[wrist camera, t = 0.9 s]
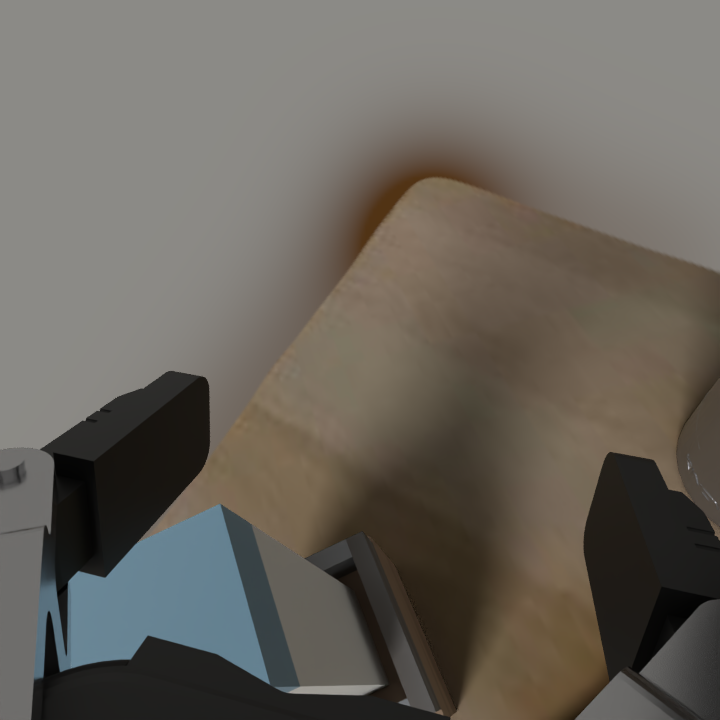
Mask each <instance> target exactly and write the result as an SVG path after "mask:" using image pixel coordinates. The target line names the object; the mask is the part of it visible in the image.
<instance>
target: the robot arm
mask: <svg viewBox="0 0 720 720" xmlns="http://www.w3.org/2000/svg"><path fill="white" fill-rule="evenodd" d="M209 446H210V411H209V384H208V381H207V379H206V378H205V377H201V376H196V375H191V374H186V373H179V372H175V371H168V372H166V373H165V374H163V375H162V376H161V377H159V378H158V379H156V380H155V381H153V382H152V383H151V384H149V385H148V386H147V387H145V388H144V389H139V390H136V391H133V392H130V393H127V394H124V395H122V396H119V397H117V398H115V399H114V400H112V401H111V402H110V403H108V404H106V405H105V406H104V407H102V408H101V409H100V411H96V412H95V413H93V414H92V415H90V416H89V417H87V418H86V421H81V422H80V423H79V424H77V425H75V426H74V427H73V428H71V429H70V430H68V431H67V432H65V433H64V434H62V435H61V436H59V437H58V438H56V439H55V440H53V441H52V442H51V443H49V444H48V445H46V446H45V447H43V448H42V449H40V450H38V449H33V448H9V449H3V450H0V720H450V717H448V716H444V715H441V714H437V713H433V712H429V711H426V710H422V709H418V708H415V707H411V706H407V705H404V704H400V703H396V702H393V701H389V700H385V699H381V698H378V697H374V696H367V695H330V694H294V693H286V692H283V691H280V690H278V689H276V688H275V687H273V686H271V685H270V684H268V683H266V682H264V681H263V680H261V679H259V678H257V677H256V676H254V675H252V674H251V673H249V672H247V671H245V670H244V669H242V668H240V667H238V666H237V665H235V664H233V663H232V662H230V661H228V660H226V659H225V658H223V657H221V656H219V655H218V654H215V653H211V652H208V651H204V650H200V649H197V648H193V647H189V646H185V645H182V644H178V643H174V642H171V641H167V640H163V639H160V638H156V637H152V636H147V637H146V638H145V640H144V641H143V643H142V644H141V646H140V647H139V648H138V650H137V651H136V653H135V654H134V655H133V657H132V658H131V659H121V660H110V661H101V662H96V663H90V664H85V665H81V666H78V667H74V668H71V591H70V583H69V580H70V579H71V578H72V577H73V576H74V575H75V574H76V573H77V572H78V571H80V572H84V573H87V574H91V575H95V576H99V577H103V578H106V577H107V576H108V574H109V573H110V572H111V571H112V570H113V569H114V568H115V567H116V565H117V564H118V563H119V562H120V561H121V560H122V559H123V558H124V557H125V555H126V554H127V553H128V552H129V551H130V550H131V549H132V548H133V546H134V545H135V544H136V543H137V542H138V541H139V540H140V539H141V537H142V536H143V535H144V534H145V533H146V532H147V531H148V530H149V529H150V527H151V526H152V525H153V524H154V523H155V522H156V521H157V520H158V519H159V517H160V516H161V515H162V514H163V513H164V512H165V511H166V510H167V509H168V507H169V506H170V505H171V504H172V503H173V502H174V501H175V500H176V498H177V497H178V496H179V495H180V494H181V493H182V492H183V491H184V490H185V488H186V487H187V486H188V485H189V484H190V483H191V482H192V481H193V479H194V478H195V477H196V476H197V475H198V474H199V473H200V471H201V470H202V468H203V467H204V465H205V462H206V460H207V457H208V453H209ZM677 462H678V470H679V473H680V476H681V478H682V481H683V484H684V487H685V488H686V490H687V492H688V493H689V495H690V496H691V498H692V500H693V501H694V503H695V504H696V505H695V504H694V503H693V502H692V501H691V500H690V499H689V498H688V497H687V496H685V495H684V494H683V493H682V492H678V491H673V490H668V488H667V486H666V483H665V481H664V479H663V477H662V475H661V473H660V471H659V469H658V467H657V465H656V463H655V461H654V460H651V459H646V458H641V457H635V456H630V455H624V454H619V453H613V452H609V453H608V454H607V456H606V458H605V460H604V463H603V466H602V469H601V473H600V476H599V480H598V483H597V487H596V490H595V493H594V497H593V500H592V504H591V507H590V511H589V514H588V518H587V521H586V526H585V532H584V557H585V561H586V566H587V571H588V576H589V581H590V586H591V591H592V596H593V601H594V606H595V611H596V616H597V621H598V626H599V630H600V635H601V640H602V645H603V650H604V655H605V660H606V665H607V670H608V675H609V680H610V683H609V684H608V685H607V686H606V687H605V688H604V689H603V690H602V691H601V692H600V693H599V694H598V695H597V696H596V698H595V699H594V700H593V701H592V702H591V703H590V704H589V705H588V706H587V707H586V708H585V709H584V710H583V711H582V712H581V714H580V715H579V716H578V717H577V718H576V719H575V720H720V541H719V539H718V537H717V536H715V535H714V534H715V532H714V530H713V528H712V526H711V524H710V522H709V521H708V519H707V517H708V518H709V519H710V520H711V521H713V522H714V523H715V524H717V525H718V526H719V527H720V377H719V379H718V380H717V381H716V383H715V384H714V385H713V387H712V388H711V389H710V391H709V392H708V393H707V395H706V396H705V397H704V399H703V400H702V401H701V403H700V404H699V406H698V407H697V408H696V410H695V411H694V412H693V414H692V415H691V417H690V418H689V419H688V421H687V422H686V424H685V425H684V427H683V429H682V432H681V434H680V437H679V439H678V447H677ZM706 516H707V517H706Z"/></svg>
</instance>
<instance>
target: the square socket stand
mask: <svg viewBox="0 0 720 720" xmlns="http://www.w3.org/2000/svg"><path fill="white" fill-rule="evenodd" d="M305 559H306V560H307V561H309V562H310V563H312V564H313V565H315V566H316V567H318V568H320V569H321V570H323V571H324V572H326V573H327V574H329V575H330V576H332V577H333V578H335V579H336V580H338V581H339V582H341V583H343V584H344V585H346V586H347V587H349V588H350V589H352V590H353V591H355V594H356V597H357V599H358V602H359V605H360V607H361V610H362V613H363V615H364V618H365V621H366V623H367V626H368V629H369V631H370V634H371V636H372V639H373V642H374V644H375V647H376V650H377V652H378V655H379V658H380V660H381V663H382V666H383V668H384V671H385V674H386V676H387V679H388V682H389V684H390V685H388V686H386V687H384V688H382V689H380V690H378V691H375V692H373V693H371V694H369V695H367V696H374V697H378V698H381V699H385V700H389V701H393V702H396V703H400V704H404V705H407V706H411V707H415V708H418V709H422V710H426V711H429V712H433V713H437V714H441V715H444V716H448V717H450V716H452V715H453V714H454V713H456V712H457V711H456V708H455V706H454V704H453V701H452V699H451V697H450V694H449V692H448V689H447V687H446V685H445V682H444V680H443V678H442V675H441V673H440V671H439V668H438V666H437V664H436V661H435V659H434V656H433V654H432V652H431V649H430V647H429V645H428V642H427V640H426V638H425V635H424V633H423V631H422V628H421V626H420V624H419V621H418V619H417V616H416V614H415V612H414V609H413V607H412V605H411V602H410V600H409V598H408V595H407V593H406V591H405V588H404V586H403V583H402V581H401V579H400V576H399V574H398V572H397V569H396V567H395V565H394V564H393V562H392V561H391V560H390V559H389V558H388V556H387V555H386V554H385V553H384V552H383V551H382V549H381V548H380V547H379V546H378V545H377V544H376V542H375V541H374V540H373V539H372V538H371V536H370V535H369V536H366V535H365V534H364V533H363V531H362V532H360V533H357V534H355V535H353V536H351V537H349V538H347V539H345V540H343V541H341V542H338V543H336V544H334V545H332V546H330V547H328V548H326V549H324V550H322V551H320V552H317V553H315V554H313V555H311V556H309V557H307V558H305Z"/></svg>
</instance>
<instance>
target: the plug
mask: <svg viewBox="0 0 720 720" xmlns="http://www.w3.org/2000/svg"><path fill="white" fill-rule="evenodd" d="M69 583H70V591H71V668H74V667H78V666H81V665H85V664H90V663H96V662H101V661H110V660H121V659H131V658H132V657H133V655H134V654H135V653H136V651H137V650H138V648H139V647H140V646H141V644H142V643H143V641H144V640H145V638H146V637H147V636H152V637H156V638H160V639H163V640H167V641H171V642H174V643H178V644H182V645H185V646H189V647H193V648H197V649H200V650H204V651H208V652H211V653H215V654H218V655H219V656H221V657H223V658H225V659H226V660H228V661H230V662H232V663H233V664H235V665H237V666H238V667H240V668H242V669H244V670H245V671H247V672H249V673H251V674H252V675H254V676H256V677H257V678H259V679H261V680H263V681H264V682H266V683H268V684H270V685H271V686H273V687H275V688H276V689H278V690H280V691H283V692H286V693H294V694H330V695H369V694H371V693H373V692H375V691H378V690H380V689H382V688H384V687H386V686H388V685H390V684H389V682H388V679H387V676H386V674H385V671H384V668H383V666H382V663H381V660H380V658H379V655H378V652H377V650H376V647H375V644H374V642H373V639H372V636H371V634H370V631H369V629H368V626H367V623H366V621H365V618H364V615H363V613H362V610H361V607H360V605H359V602H358V599H357V597H356V594H355V591H353V590H352V589H350V588H349V587H347V586H346V585H344V584H343V583H341V582H339V581H338V580H336V579H335V578H333V577H332V576H330V575H329V574H327V573H326V572H324V571H323V570H321V569H320V568H318V567H316V566H315V565H313V564H312V563H310V562H309V561H307V560H306V559H304V558H303V557H301V556H300V555H298V554H296V553H295V552H293V551H292V550H290V549H289V548H287V547H286V546H284V545H283V544H281V543H280V542H278V541H277V540H275V539H273V538H272V537H270V536H269V535H267V534H266V533H264V532H263V531H261V530H260V529H258V528H257V527H255V526H253V525H252V524H250V523H249V522H247V521H246V520H244V519H243V518H241V517H240V516H238V515H237V514H235V513H233V512H232V511H230V510H229V509H227V508H226V507H224V506H223V505H221V504H219V505H216V506H214V507H212V508H210V509H208V510H206V511H204V512H202V513H199V514H197V515H195V516H193V517H191V518H189V519H187V520H185V521H182V522H180V523H178V524H176V525H174V526H172V527H170V528H168V529H165V530H163V531H161V532H159V533H157V534H155V535H153V536H151V537H148V538H146V539H144V540H142V541H140V542H138V543H136V544H135V545H134V546H133V548H132V549H131V550H130V551H129V552H128V553H127V554H126V555H125V557H124V558H123V559H122V560H121V561H120V562H119V563H118V564H117V565H116V567H115V568H114V569H113V570H112V571H111V572H110V573H109V574H108V576H107V577H106V578H103V577H99V576H95V575H91V574H87V573H84V572H80V571H78V572H77V573H76V574H75V575H74V576H73V577H72V578H71V579H70V580H69Z"/></svg>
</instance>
